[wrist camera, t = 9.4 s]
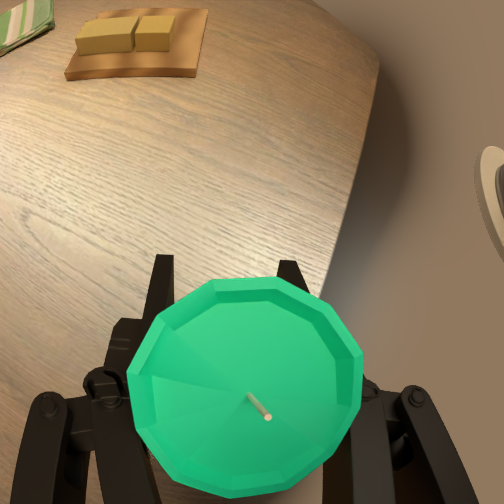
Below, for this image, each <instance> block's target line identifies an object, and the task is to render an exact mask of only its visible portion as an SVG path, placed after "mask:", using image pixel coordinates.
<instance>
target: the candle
mask: <svg viewBox="0 0 504 504" xmlns="http://www.w3.org/2000/svg"><path fill="white" fill-rule="evenodd" d="M363 360H364V353H363V351H362V350H361V348H360V347H359V346H358V344H357V343H356V341H355V340H354V338H353V337H352V335H351V334H350V332H349V331H348V329H347V328H346V327H345V325H344V324H343V322H342V321H341V319H340V318H339V316H338V315H337V313H336V312H335V311H334V309H333V308H332V306H331V305H330V304H328V303H326V302H324V301H322V300H320V299H318V298H317V297H315V296H313V295H311V294H309V293H307V292H305V291H303V290H302V289H300V288H298V287H296V286H294V285H292V284H290V283H289V282H287V281H285V280H283V279H281V278H279V277H257V278H234V279H212V280H210V281H208V282H207V283H205V284H204V285H202V286H201V287H199V288H198V289H196V290H195V291H193V292H191V293H190V294H188V295H187V296H185V297H184V298H182V299H181V300H179V301H178V302H176V303H174V304H173V305H171V306H170V307H168V308H167V309H165V310H164V311H162V312H161V313H159V314H157V316H156V317H155V319H154V321H153V323H152V325H151V327H150V328H149V330H148V332H147V334H146V336H145V338H144V339H143V341H142V343H141V345H140V347H139V349H138V351H137V352H136V354H135V356H134V358H133V360H132V362H131V364H130V366H129V368H128V370H127V371H126V373H127V380H128V387H129V394H130V400H131V407H132V412H133V418H134V423H135V429H136V431H137V432H138V434H139V435H140V437H141V438H142V440H143V441H144V443H145V444H146V445H147V447H148V448H149V450H150V451H151V452H152V454H153V455H154V457H155V458H156V459H157V461H158V462H159V463H160V465H161V466H162V467H163V468H164V470H165V471H166V472H167V474H168V475H169V476H170V477H171V479H172V480H173V481H176V482H179V483H181V484H184V485H187V486H190V487H193V488H196V489H199V490H202V491H205V492H208V493H211V494H215V495H218V496H222V497H225V498H229V499H232V498H240V497H247V496H255V495H261V494H267V493H273V492H278V491H283V490H288V489H289V488H291V487H292V486H294V485H295V484H296V483H298V482H299V481H300V480H302V479H303V478H304V477H306V476H307V475H308V474H310V473H311V472H312V471H314V470H315V469H316V468H317V467H319V466H320V465H321V464H322V463H324V462H325V461H326V460H327V459H328V458H330V457H331V456H332V455H333V454H334V452H335V451H336V449H337V447H338V446H339V444H340V442H341V441H342V439H343V437H344V436H345V434H346V432H347V431H348V429H349V427H350V425H351V424H352V422H353V420H354V418H355V417H356V415H357V413H358V411H359V409H360V407H361V395H362V380H363Z"/></svg>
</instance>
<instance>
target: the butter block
mask: <svg viewBox="0 0 504 504" xmlns="http://www.w3.org/2000/svg"><path fill="white" fill-rule="evenodd" d="M138 25H139V16H134V17H119V18H108V19H99V20H91V21H86V23H85V24H84V26H83V27H82V29H81V30H80V32H79V33H78V35H77V36H76V38H75V41H76V45H77V48H78V52H79V55H80V56H82V55H91V54H102V53H115V52H132V51H133V48H134V46H135V43H136V42H135V31H136V29H137V27H138Z"/></svg>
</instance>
